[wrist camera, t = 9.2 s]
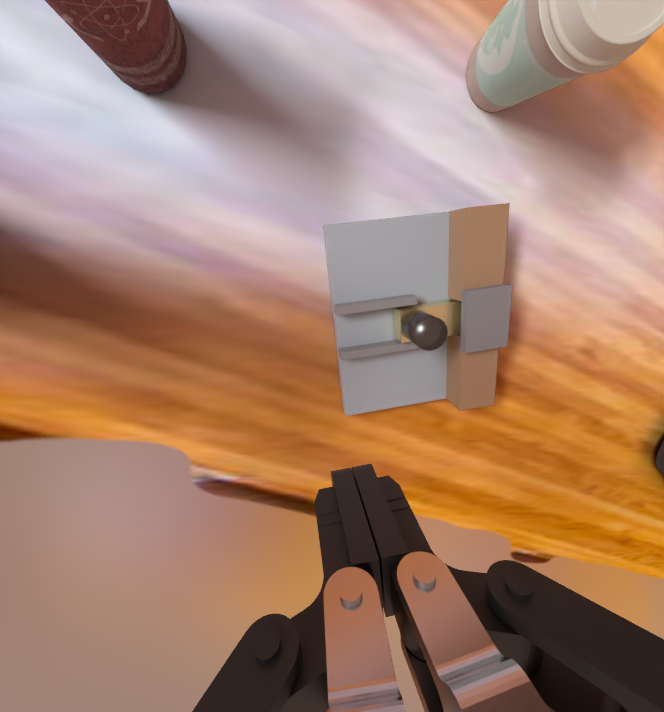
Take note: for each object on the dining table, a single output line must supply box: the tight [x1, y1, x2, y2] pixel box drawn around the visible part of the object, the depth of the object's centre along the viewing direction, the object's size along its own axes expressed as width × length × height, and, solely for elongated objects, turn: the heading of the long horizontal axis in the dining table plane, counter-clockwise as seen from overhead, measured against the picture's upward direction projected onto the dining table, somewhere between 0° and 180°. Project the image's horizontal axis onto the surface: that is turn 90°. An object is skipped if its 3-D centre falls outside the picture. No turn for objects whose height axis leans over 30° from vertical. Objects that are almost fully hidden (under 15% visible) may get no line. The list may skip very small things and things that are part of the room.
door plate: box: [323, 203, 513, 416], centre depth 31 cm, size 16×20×6 cm
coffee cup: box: [466, 0, 664, 112], centre depth 22 cm, size 9×8×12 cm
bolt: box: [393, 299, 462, 351], centre depth 30 cm, size 10×3×6 cm, turn 96°
